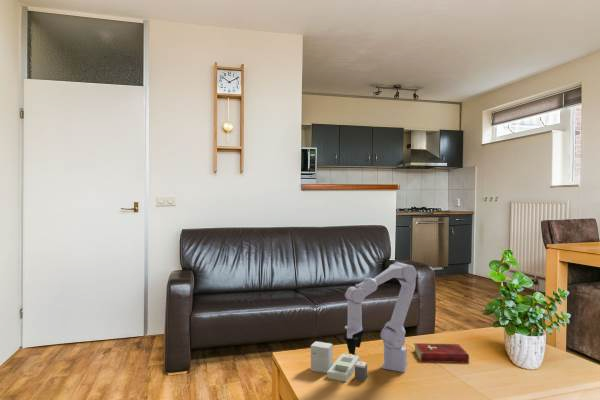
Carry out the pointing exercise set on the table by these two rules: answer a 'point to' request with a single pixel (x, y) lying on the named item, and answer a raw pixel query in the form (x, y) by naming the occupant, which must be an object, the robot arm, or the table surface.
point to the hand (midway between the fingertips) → (354, 350)
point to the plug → (361, 371)
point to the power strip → (343, 367)
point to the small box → (321, 356)
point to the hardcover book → (441, 352)
